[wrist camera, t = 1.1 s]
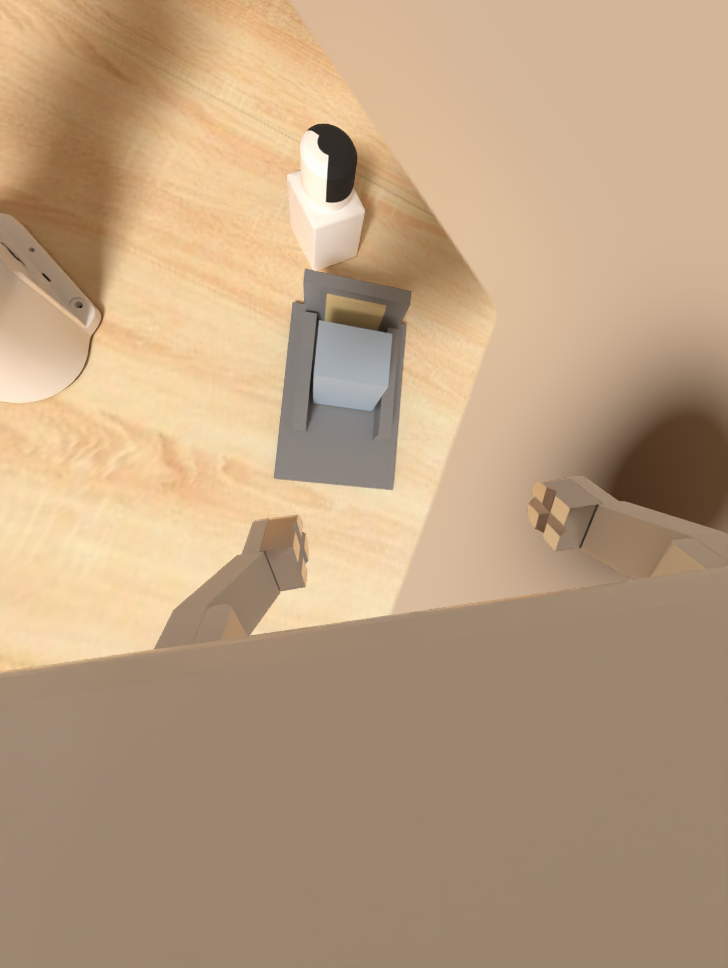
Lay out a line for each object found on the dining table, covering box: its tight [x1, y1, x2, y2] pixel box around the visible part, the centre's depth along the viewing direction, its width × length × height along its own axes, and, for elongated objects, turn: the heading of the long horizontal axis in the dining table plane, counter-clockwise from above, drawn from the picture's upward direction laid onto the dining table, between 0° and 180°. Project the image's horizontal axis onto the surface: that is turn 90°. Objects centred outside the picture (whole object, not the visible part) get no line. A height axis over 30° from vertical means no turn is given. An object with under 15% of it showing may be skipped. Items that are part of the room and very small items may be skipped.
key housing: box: [274, 269, 411, 490], centre depth 38 cm, size 24×16×9 cm, turn 175°
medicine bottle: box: [287, 124, 365, 271], centre depth 37 cm, size 7×7×12 cm
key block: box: [313, 320, 392, 411], centre depth 36 cm, size 6×8×9 cm
